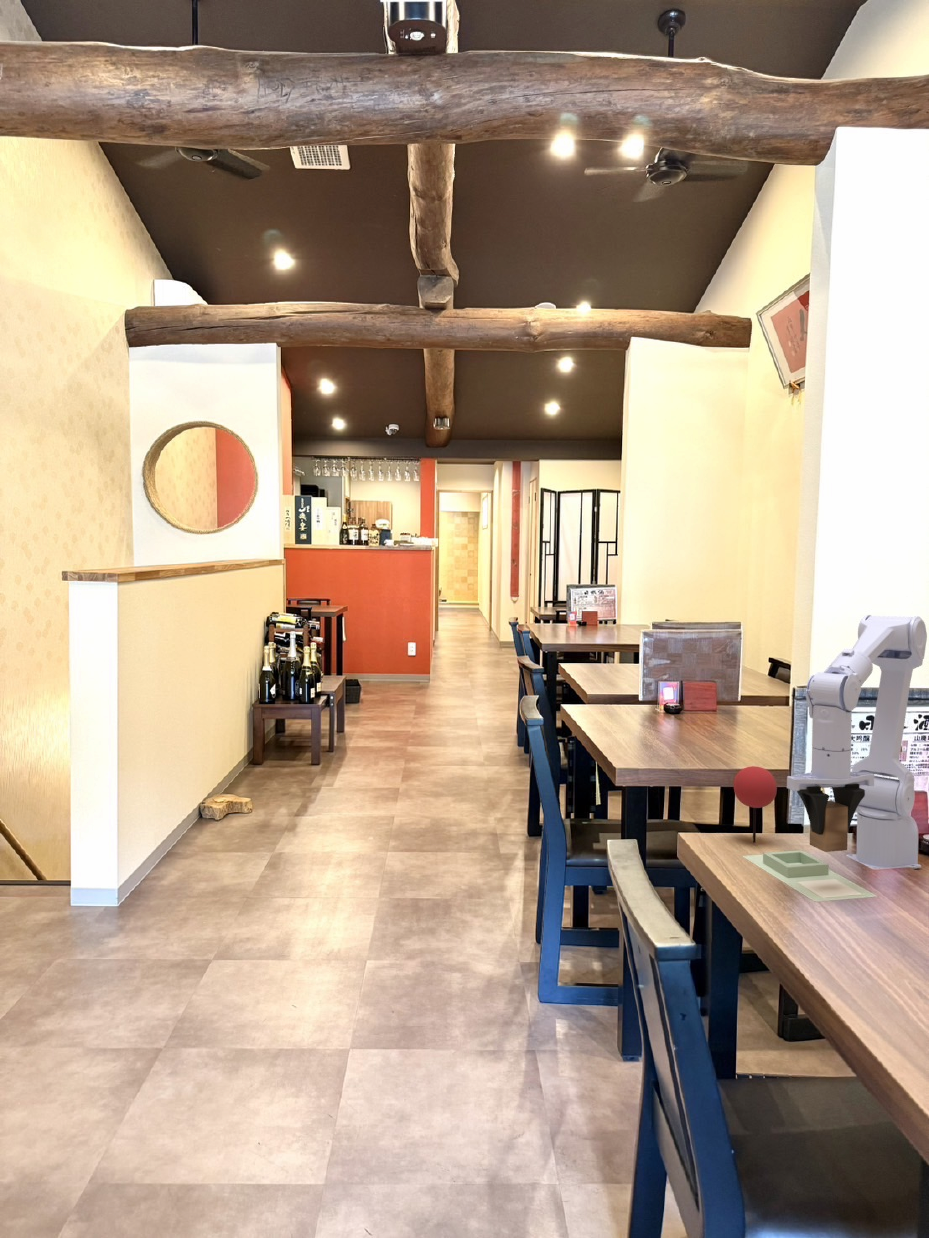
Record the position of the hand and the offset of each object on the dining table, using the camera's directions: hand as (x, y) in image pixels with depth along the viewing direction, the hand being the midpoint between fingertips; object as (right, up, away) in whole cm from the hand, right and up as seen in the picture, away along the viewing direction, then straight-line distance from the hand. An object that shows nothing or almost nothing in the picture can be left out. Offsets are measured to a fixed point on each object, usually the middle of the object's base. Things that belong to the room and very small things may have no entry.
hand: (829, 831), depth 135 cm
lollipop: (-4, -9, +25) cm, 27 cm away
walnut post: (0, -3, 0) cm, 3 cm away
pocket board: (-1, -10, +7) cm, 12 cm away
